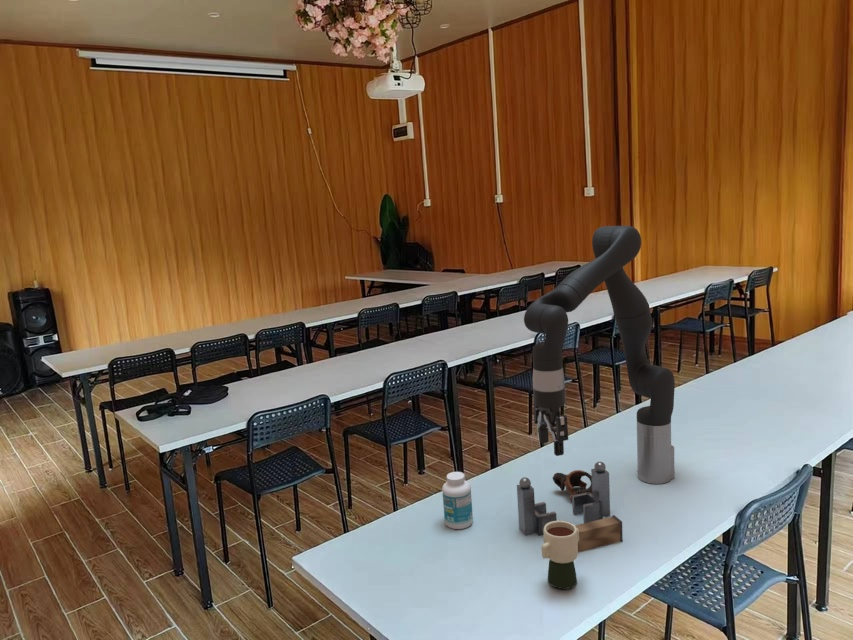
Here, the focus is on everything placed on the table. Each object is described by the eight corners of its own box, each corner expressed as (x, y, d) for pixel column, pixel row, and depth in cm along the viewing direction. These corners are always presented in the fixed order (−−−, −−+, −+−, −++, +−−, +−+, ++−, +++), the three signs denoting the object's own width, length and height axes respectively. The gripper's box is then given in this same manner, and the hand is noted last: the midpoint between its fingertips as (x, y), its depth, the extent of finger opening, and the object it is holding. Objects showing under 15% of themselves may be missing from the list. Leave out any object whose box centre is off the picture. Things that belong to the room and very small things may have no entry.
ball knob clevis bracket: (599, 506, 175) (598, 456, 172) (613, 518, 169) (612, 465, 166) (516, 526, 169) (513, 473, 166) (527, 538, 163) (524, 484, 160)
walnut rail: (614, 534, 161) (614, 515, 160) (622, 541, 158) (622, 521, 157) (563, 547, 158) (562, 527, 156) (570, 554, 154) (569, 534, 153)
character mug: (567, 566, 150) (565, 514, 147) (592, 580, 144) (590, 525, 141) (532, 585, 144) (529, 531, 141) (556, 600, 138) (553, 544, 135)
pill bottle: (440, 520, 175) (436, 473, 172) (466, 513, 177) (462, 466, 175) (451, 533, 168) (447, 484, 165) (477, 526, 170) (474, 477, 168)
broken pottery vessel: (596, 489, 186) (600, 472, 181) (588, 517, 180) (592, 500, 174) (555, 475, 190) (557, 458, 184) (545, 501, 184) (548, 484, 178)
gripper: (576, 391, 153) (578, 456, 156) (550, 376, 167) (552, 436, 170) (546, 396, 151) (549, 462, 155) (522, 380, 165) (525, 441, 168)
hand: (551, 448), depth 162 cm, fingers open, 8 cm apart
